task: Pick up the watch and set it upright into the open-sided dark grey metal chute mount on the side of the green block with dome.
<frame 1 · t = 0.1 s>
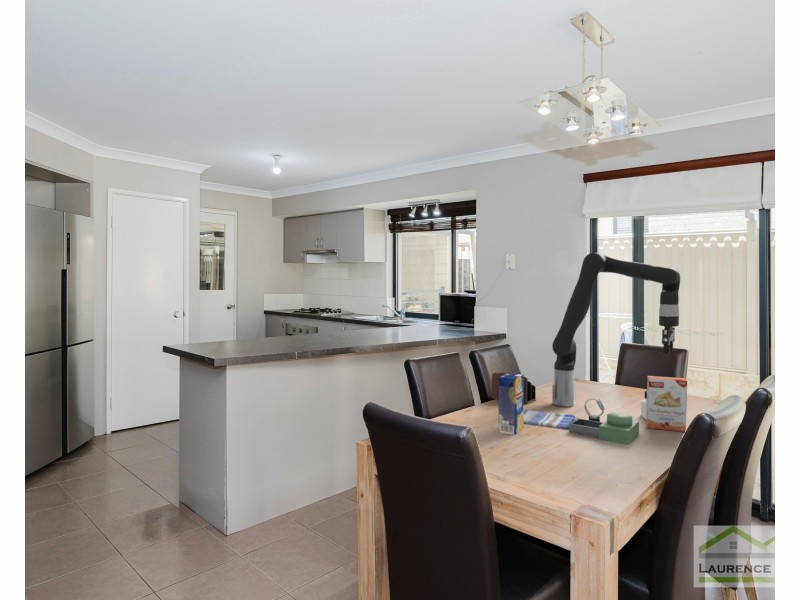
hand: (668, 352, 217), 29 cm above the table, fingers open, 8 cm apart
chute mount: (589, 432, 201), on the table
medicine bottle: (651, 418, 222), on the table
dish towel: (544, 422, 218), on the table
beverage box: (511, 430, 205), on the table
letter holder: (513, 400, 257), on the table
watch: (594, 424, 213), on the table
green block with dome: (619, 436, 196), on the table
cracker box: (665, 429, 206), on the table
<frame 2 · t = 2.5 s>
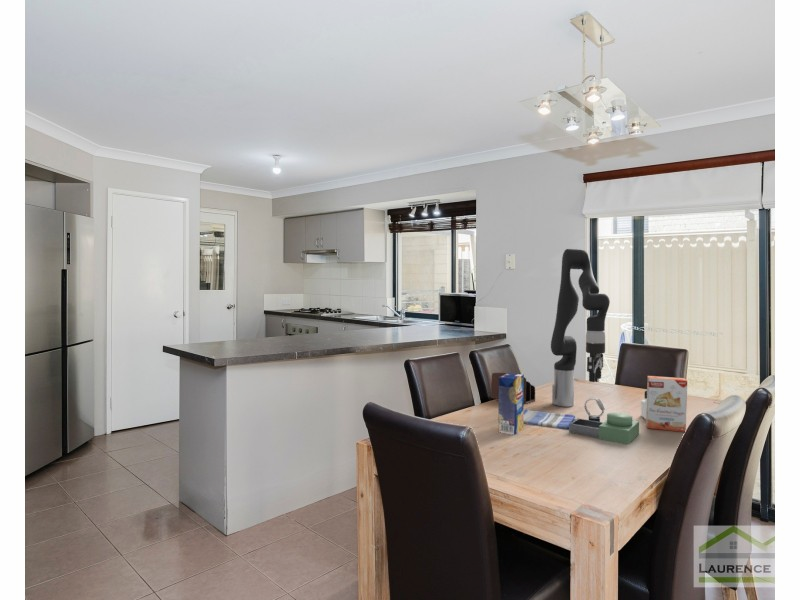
hand: (595, 380, 212), 19 cm above the table, fingers open, 8 cm apart
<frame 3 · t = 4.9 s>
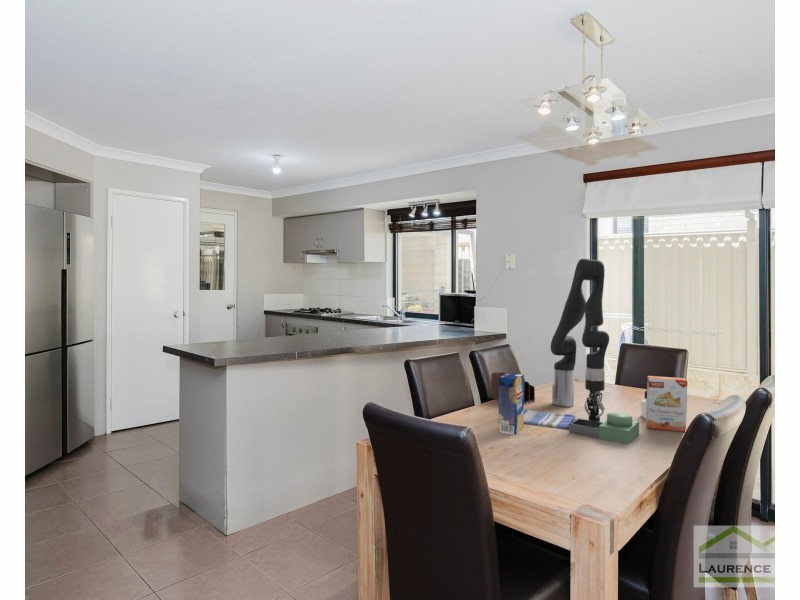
hand: (594, 418, 213), 2 cm above the table, fingers closed on watch, 3 cm apart
watch: (594, 424, 213), on the table, touching gripper
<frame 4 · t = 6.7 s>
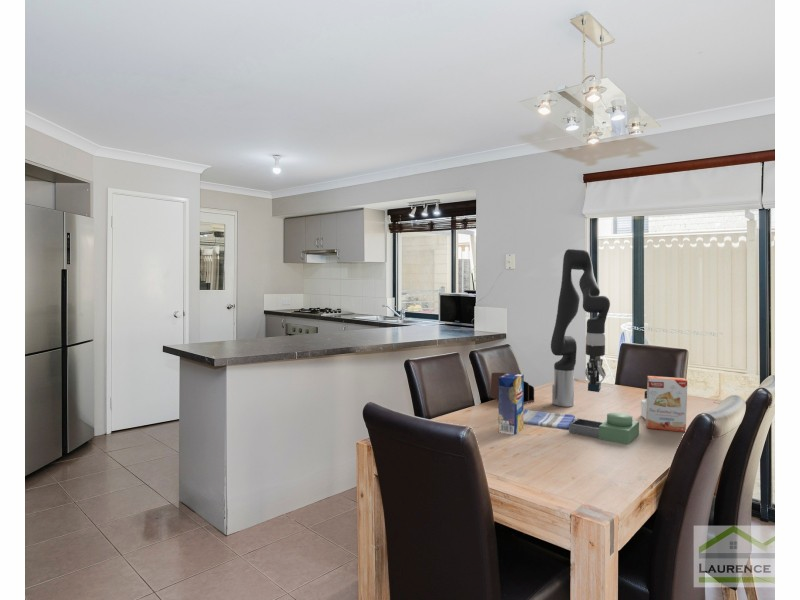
hand: (594, 384, 212), 17 cm above the table, fingers closed on watch, 3 cm apart
watch: (594, 390, 213), point 14 cm above the table, touching gripper
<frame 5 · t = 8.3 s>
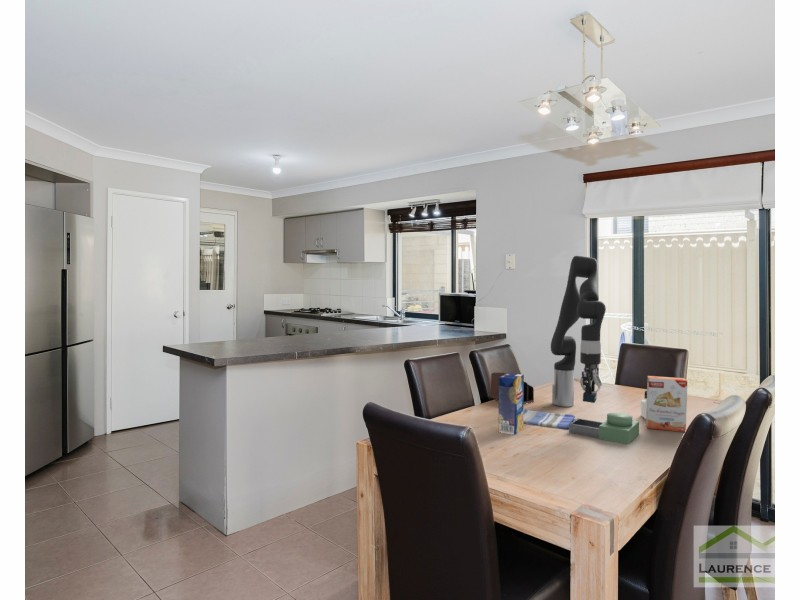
hand: (589, 394, 201), 15 cm above the table, fingers closed on watch, 3 cm apart
watch: (589, 400, 201), point 13 cm above the table, touching gripper
when the fingers open (5 cm above the table, at t = 10.8 s): watch drops 1 cm, resting on chute mount.
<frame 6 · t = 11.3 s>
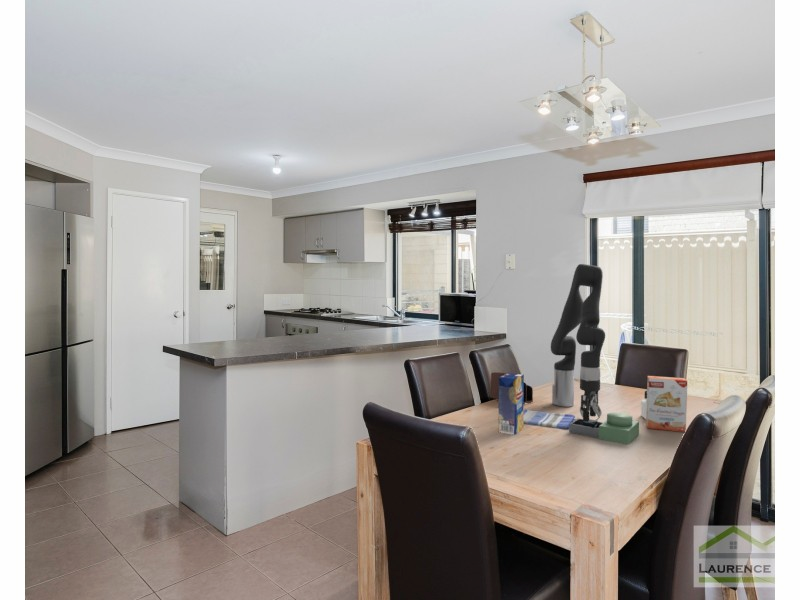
hand: (589, 418, 201), 6 cm above the table, fingers open, 8 cm apart
watch: (590, 429, 202), point 1 cm above the table, touching chute mount, gripper
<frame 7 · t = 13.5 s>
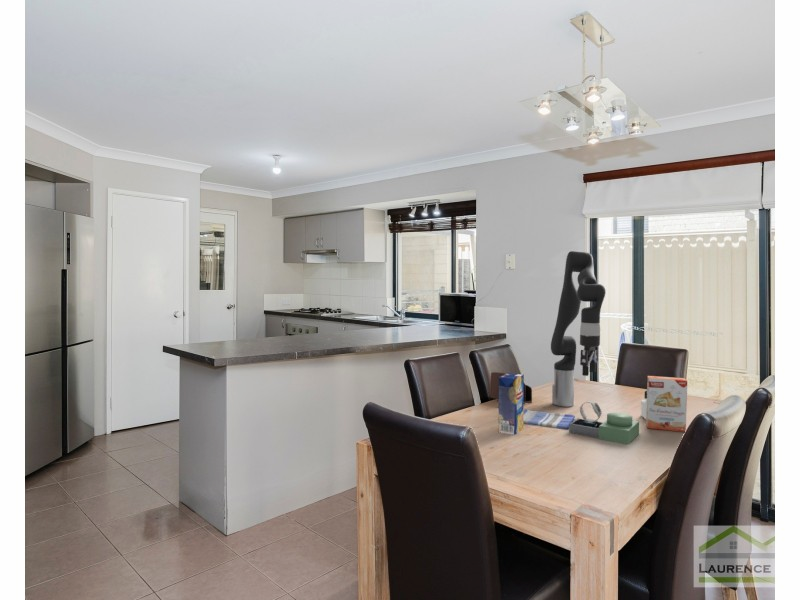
hand: (588, 373, 204), 23 cm above the table, fingers open, 8 cm apart
watch: (590, 429, 202), point 1 cm above the table, touching chute mount
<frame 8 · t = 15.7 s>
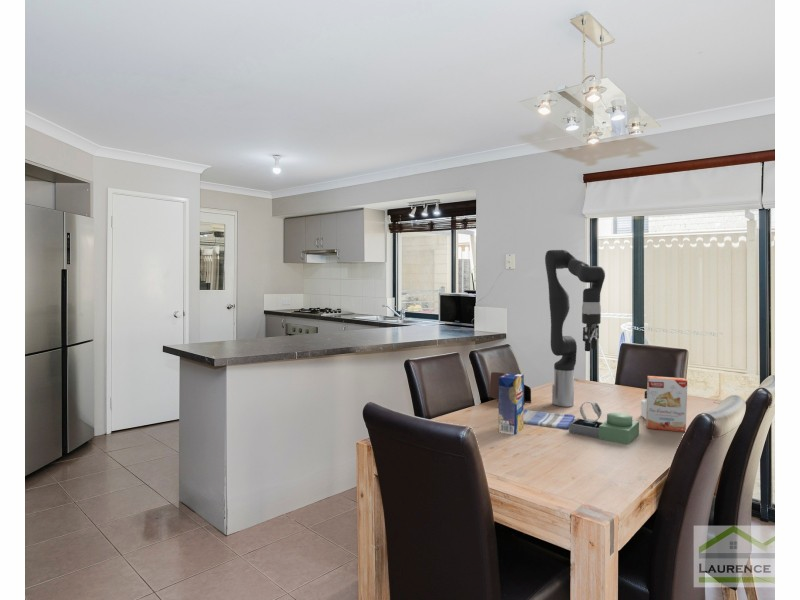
hand: (590, 350, 220), 30 cm above the table, fingers open, 8 cm apart
at the end: watch 1.4 cm off-centre on the chute mount, point 0.8 cm above the chute mount's base; watch tilted 0°; the gripper is holding nothing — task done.
